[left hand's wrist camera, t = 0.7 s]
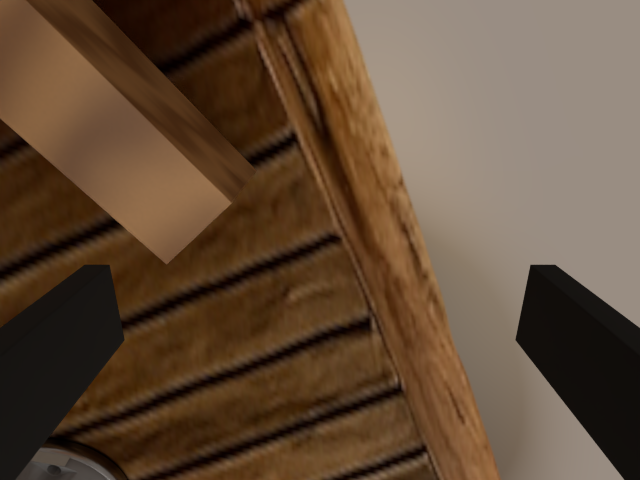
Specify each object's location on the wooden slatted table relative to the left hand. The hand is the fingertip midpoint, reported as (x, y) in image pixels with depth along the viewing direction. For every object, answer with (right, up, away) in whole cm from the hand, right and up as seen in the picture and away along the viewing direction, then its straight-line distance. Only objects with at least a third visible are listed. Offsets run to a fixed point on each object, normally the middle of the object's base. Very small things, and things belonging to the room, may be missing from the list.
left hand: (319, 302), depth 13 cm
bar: (-15, +14, +17) cm, 26 cm away
